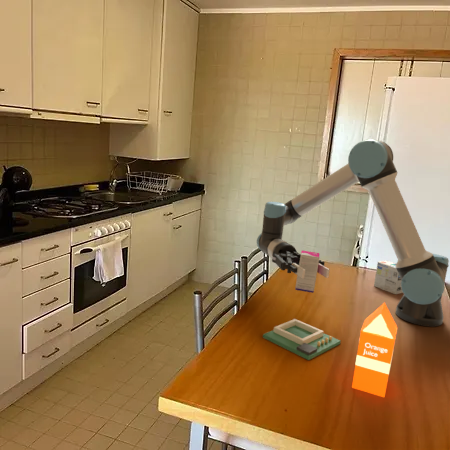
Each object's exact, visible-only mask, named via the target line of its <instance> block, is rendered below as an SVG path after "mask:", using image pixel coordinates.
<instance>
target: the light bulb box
mask: <svg viewBox="0 0 450 450" xmlns="http://www.w3.org/2000/svg"><path fill="white" fill-rule="evenodd" d="M396 264H397V262H396V263H395V262H392V261H391V260H390V261H389V260H381V261H377V264H376V271H375V278H374V283H373V287H375V288H378V289H380V290H383V291H385V292H387V293H391V294H394V295H398V294H404V293H403V291H402V287H401V278H400V276H399V274H398V271H397V269H396Z"/></svg>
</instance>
